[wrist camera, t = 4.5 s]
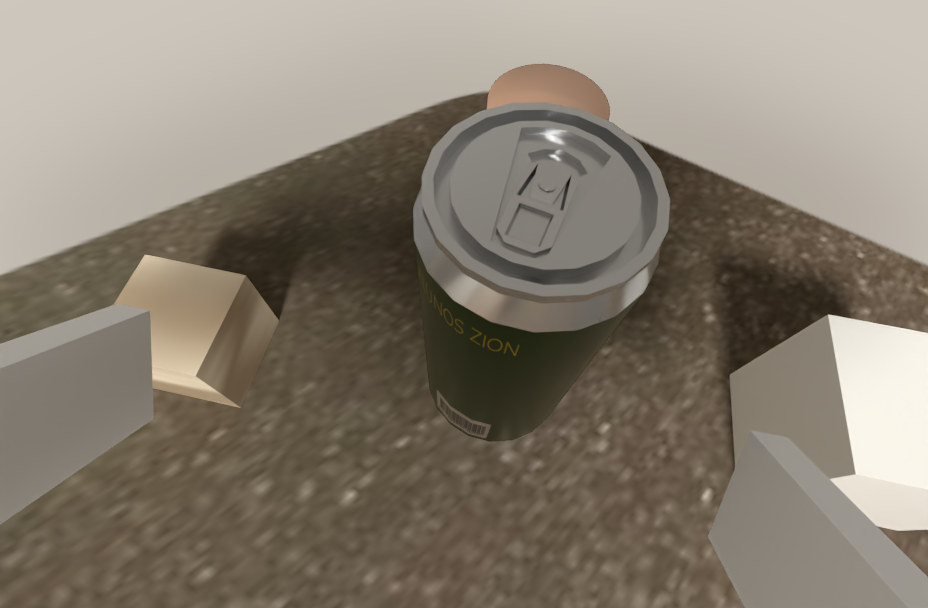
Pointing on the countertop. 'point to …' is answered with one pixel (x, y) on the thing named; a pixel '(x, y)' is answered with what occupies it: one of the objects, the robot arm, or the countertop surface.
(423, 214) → the green soda can
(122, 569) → the countertop surface
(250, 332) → the birch block
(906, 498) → the off-white plastic box
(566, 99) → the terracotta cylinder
